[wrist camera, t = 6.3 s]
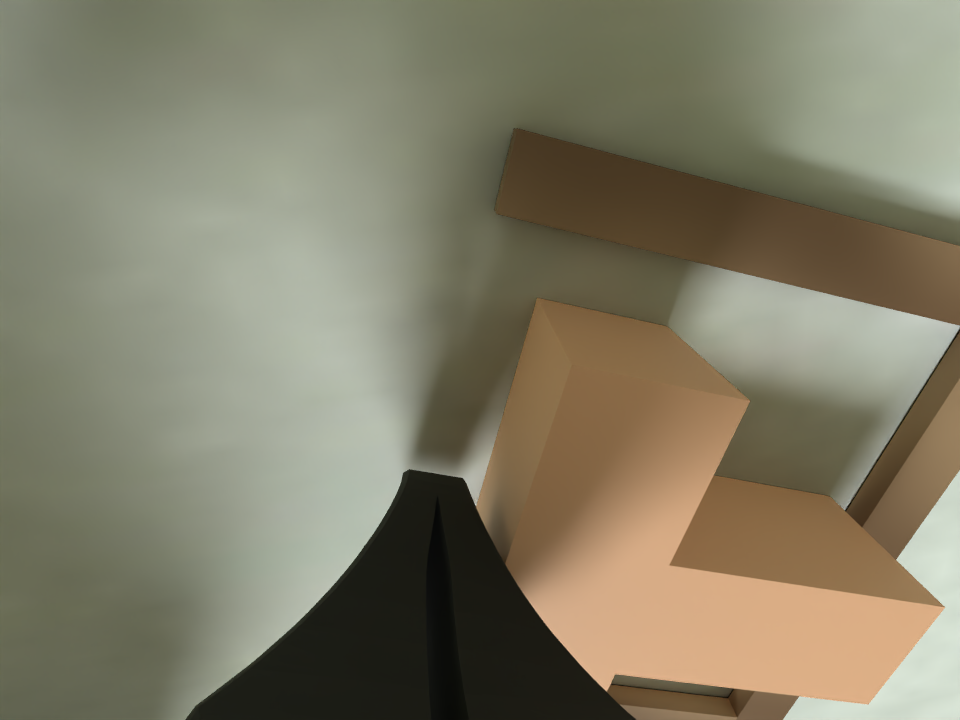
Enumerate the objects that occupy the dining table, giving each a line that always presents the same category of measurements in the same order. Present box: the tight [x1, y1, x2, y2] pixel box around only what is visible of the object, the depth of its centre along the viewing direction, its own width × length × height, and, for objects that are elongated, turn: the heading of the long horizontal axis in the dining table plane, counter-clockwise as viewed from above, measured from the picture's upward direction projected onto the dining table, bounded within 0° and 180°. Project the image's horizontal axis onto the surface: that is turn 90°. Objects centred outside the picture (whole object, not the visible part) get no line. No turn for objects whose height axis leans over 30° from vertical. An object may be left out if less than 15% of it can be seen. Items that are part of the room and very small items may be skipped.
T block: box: [476, 298, 945, 704], centre depth 12 cm, size 9×10×4 cm
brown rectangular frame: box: [494, 128, 960, 720], centre depth 13 cm, size 16×12×1 cm
